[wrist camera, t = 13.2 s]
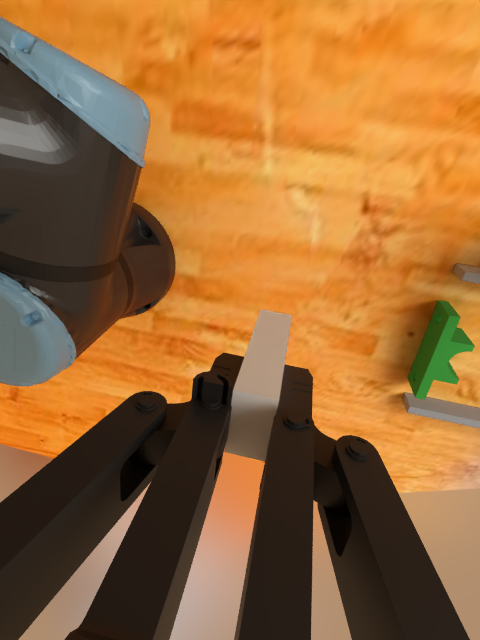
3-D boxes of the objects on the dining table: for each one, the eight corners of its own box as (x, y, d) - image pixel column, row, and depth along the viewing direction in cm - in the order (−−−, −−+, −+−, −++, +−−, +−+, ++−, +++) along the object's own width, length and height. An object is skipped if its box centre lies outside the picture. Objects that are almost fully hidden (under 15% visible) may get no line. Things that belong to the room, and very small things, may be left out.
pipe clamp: (436, 382, 49) (447, 404, 45) (407, 376, 50) (414, 398, 45) (471, 305, 44) (486, 322, 40) (437, 299, 44) (449, 315, 40)
